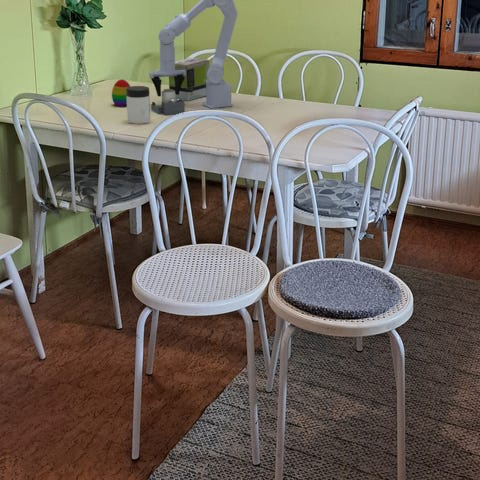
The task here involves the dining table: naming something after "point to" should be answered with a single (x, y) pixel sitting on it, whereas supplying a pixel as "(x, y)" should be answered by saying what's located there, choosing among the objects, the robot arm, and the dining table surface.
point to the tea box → (191, 78)
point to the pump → (168, 94)
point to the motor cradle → (169, 107)
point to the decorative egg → (120, 93)
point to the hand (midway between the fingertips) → (168, 95)
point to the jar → (138, 104)
